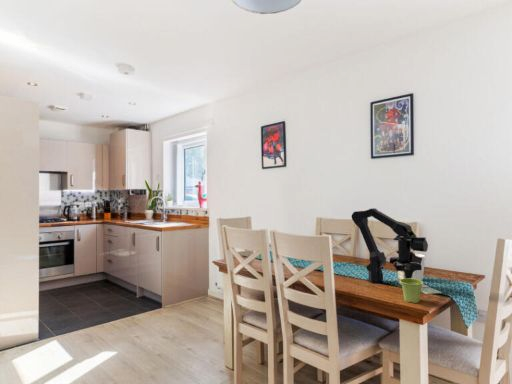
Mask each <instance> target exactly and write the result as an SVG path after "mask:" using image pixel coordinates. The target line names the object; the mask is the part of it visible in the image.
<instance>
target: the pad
mask: <svg viewBox="0 0 512 384" xmlns="http://www.w3.org/2000/svg"><path fill="white" fill-rule="evenodd" d="M421 293H424V294H425V295H431V294H443V292H442V291H440V290H438V289H435V288H433V287H428V288H421Z"/></svg>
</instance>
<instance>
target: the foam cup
mask: <svg viewBox="0 0 512 384" xmlns="http://www.w3.org/2000/svg"><path fill="white" fill-rule="evenodd" d="M414 254H415V256H418V257H421V258H422V261H421V264H420V265H421V266H422V270H415V271H414V272H413V279H418V280H421V281H423V279H424V271H425V270H424V269H425V261H426V255H425V254H419V253H414ZM411 263H412V262H411ZM414 263H416V262H414ZM418 264H419V263H418Z"/></svg>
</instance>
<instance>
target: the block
mask: <svg viewBox="0 0 512 384" xmlns="http://www.w3.org/2000/svg"><path fill="white" fill-rule="evenodd" d="M405 278H406V276H405V273H404V271H398V272H397V283H398V284H400V285H401V282H400V280H401V279H405ZM411 279H413V274H412V277H411Z"/></svg>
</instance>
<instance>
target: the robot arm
mask: <svg viewBox="0 0 512 384" xmlns="http://www.w3.org/2000/svg"><path fill="white" fill-rule="evenodd" d="M371 217H373V219H376V220H377V221H379V222H380V223H382V224H384V225H385V226H387V227H389V228H390V229H391V230H392V231H393V232H394V233H395V234H396V236H395V237H394V238H393V240H394V241H397V250H396V254H398V255H397V256H392V257H390V258H389V263H390V264H393V267H394V269H395V270H396V272H397V273H398V271H404V273H405V276H406V278H410V279H411V277H412V274H413V272H414V271H415V270H422V266H421V265H420V264H421V261H422V258H421V257H418V256H415V254H416V253H415V252H423V253H424V252H425V253H426V252H428V248H429V243H428V241H427V238H426V237H418V236H417V235H416V234H415V232H414V231H413V229H412V226H411V225H410V224H408V223H405V222H402V221H399V220H395V219H394V218H392V217H390V216H388V215H386V214H385V213H383V212H382V211H380V210H378V209H377V208H375V207H374V208H373V207H372V208H369V209H367V210H359V211H357V210H356V211H354V212H352V214H351V219H352V221H353V223H354V224H355V226H357V227H358V229H359V231H360V233H361V236H362V239H363V240H364V243H365V245H366V248H367V250H368V253H369V255H368V256H369V257H368V258H369V262H370V263H369V264H368V265H366V267H365V268H366V270H367V274H368V278H367V280H366V281H368V282H369V283H372V284H377V283H379V284H381V283H385V281H384V272H383V270H384V267H385V266H386V264H387V257H386V255H385V253H384V251H382V252H381V251H380V250H379V248H378V246H377V244H376V242H375V239H374V236H373V234H372V231H371V230H370V227H369V219H368V218H371ZM411 250H412V251H411ZM413 251H415V252H413ZM411 262H412V263H411ZM414 262H416V263H414ZM418 263H419V264H418Z"/></svg>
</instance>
